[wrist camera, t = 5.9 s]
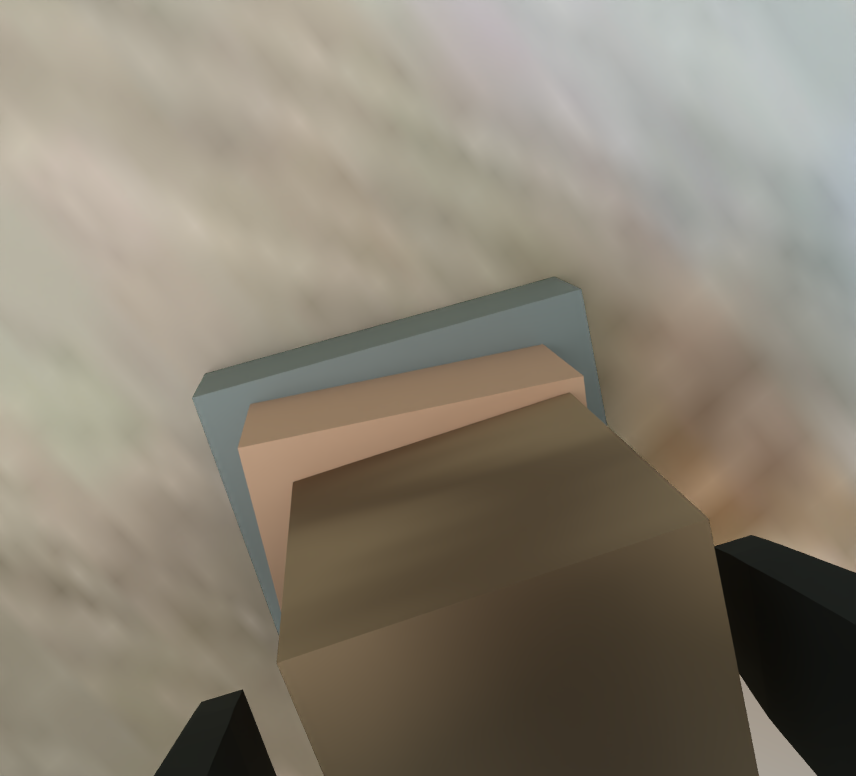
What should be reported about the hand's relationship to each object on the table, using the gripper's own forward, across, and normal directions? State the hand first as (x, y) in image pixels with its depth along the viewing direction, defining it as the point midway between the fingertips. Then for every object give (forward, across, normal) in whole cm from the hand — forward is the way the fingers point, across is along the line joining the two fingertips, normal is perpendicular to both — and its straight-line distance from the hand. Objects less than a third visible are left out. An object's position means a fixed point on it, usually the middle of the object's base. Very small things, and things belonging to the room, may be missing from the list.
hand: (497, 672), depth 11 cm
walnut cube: (+3, 0, 0) cm, 3 cm away
